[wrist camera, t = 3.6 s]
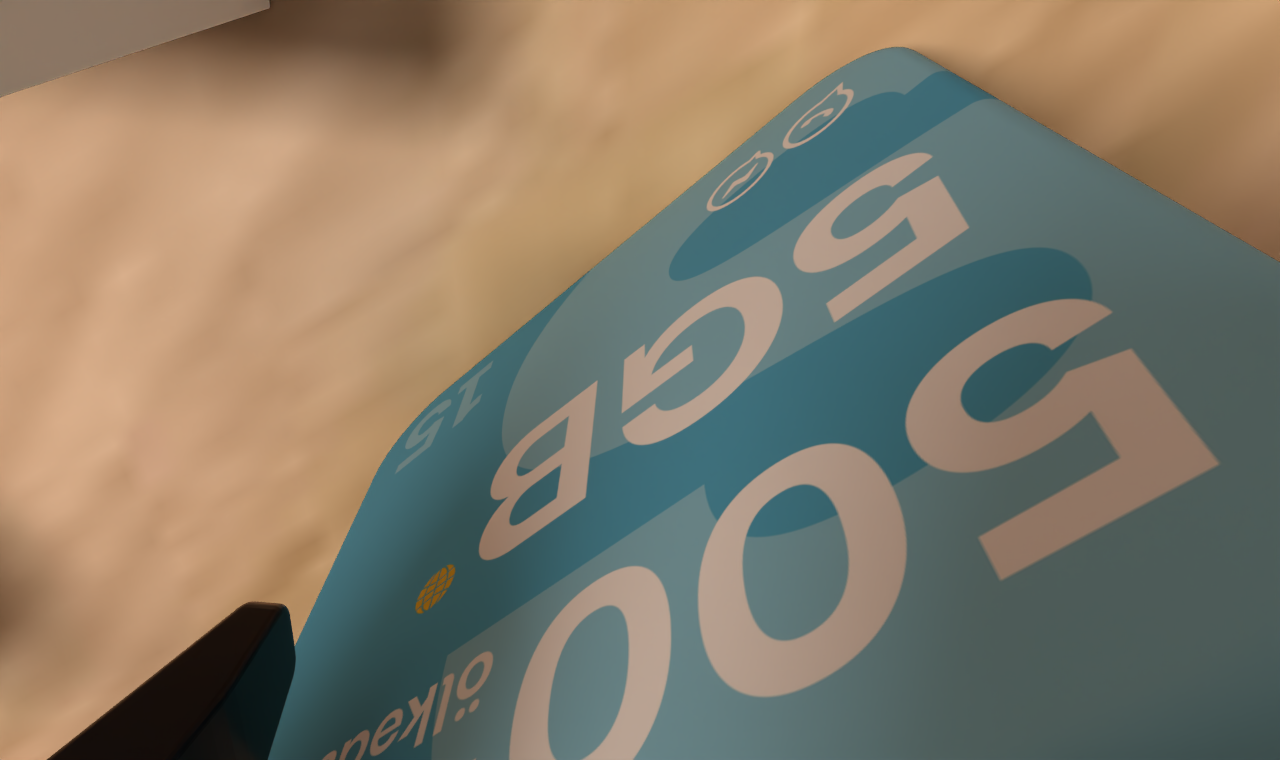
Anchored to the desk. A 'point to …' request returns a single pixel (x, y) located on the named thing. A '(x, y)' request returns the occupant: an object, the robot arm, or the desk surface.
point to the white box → (96, 32)
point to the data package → (840, 475)
